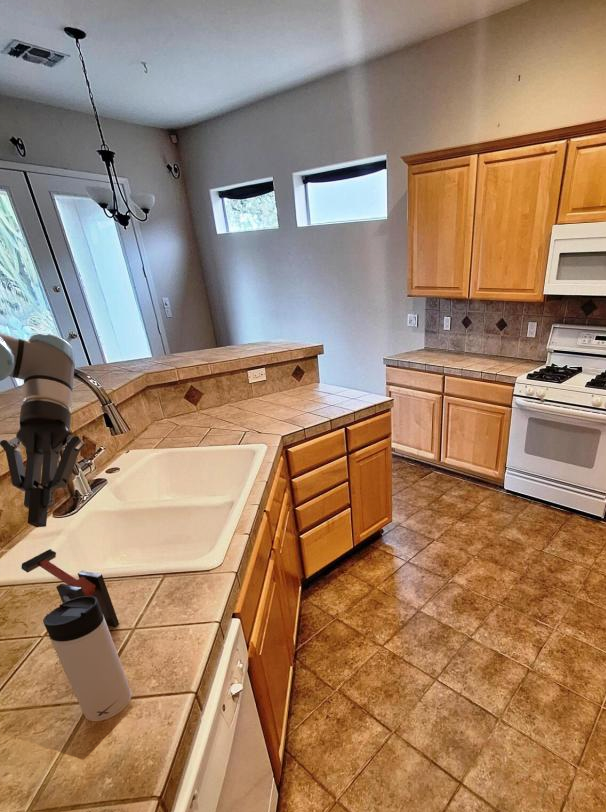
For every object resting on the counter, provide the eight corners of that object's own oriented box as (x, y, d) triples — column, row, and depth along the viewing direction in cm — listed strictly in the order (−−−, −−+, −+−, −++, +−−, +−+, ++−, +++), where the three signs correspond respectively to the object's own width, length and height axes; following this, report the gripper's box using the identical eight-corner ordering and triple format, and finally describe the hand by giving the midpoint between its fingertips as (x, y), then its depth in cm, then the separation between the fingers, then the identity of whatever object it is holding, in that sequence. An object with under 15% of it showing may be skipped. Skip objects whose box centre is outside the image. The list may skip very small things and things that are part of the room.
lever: (20, 570, 73) (21, 561, 72) (49, 555, 78) (50, 546, 76) (75, 606, 73) (77, 597, 72) (100, 589, 78) (102, 580, 77)
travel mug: (115, 730, 63) (72, 625, 54) (76, 724, 64) (27, 619, 55) (145, 695, 68) (110, 594, 60) (108, 689, 69) (68, 589, 61)
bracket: (52, 647, 77) (26, 590, 72) (96, 615, 85) (75, 561, 80) (106, 661, 75) (83, 602, 69) (146, 626, 82) (128, 571, 77)
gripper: (94, 417, 88) (89, 526, 81) (19, 421, 85) (6, 535, 78) (75, 396, 81) (68, 514, 74) (-7, 399, 78) (-23, 522, 71)
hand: (37, 524), depth 76 cm, fingers closed
